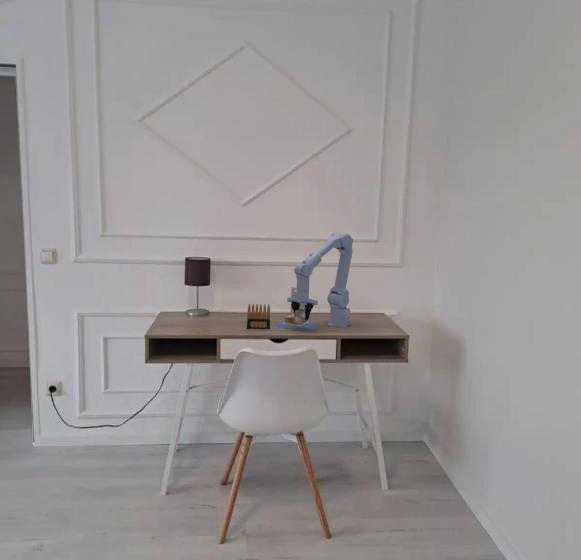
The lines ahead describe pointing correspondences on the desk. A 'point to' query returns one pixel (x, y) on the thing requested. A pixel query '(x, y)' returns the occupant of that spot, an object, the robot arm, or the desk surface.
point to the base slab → (292, 320)
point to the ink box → (293, 295)
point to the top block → (300, 315)
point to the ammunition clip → (258, 317)
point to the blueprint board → (298, 326)
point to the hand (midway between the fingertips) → (301, 318)
